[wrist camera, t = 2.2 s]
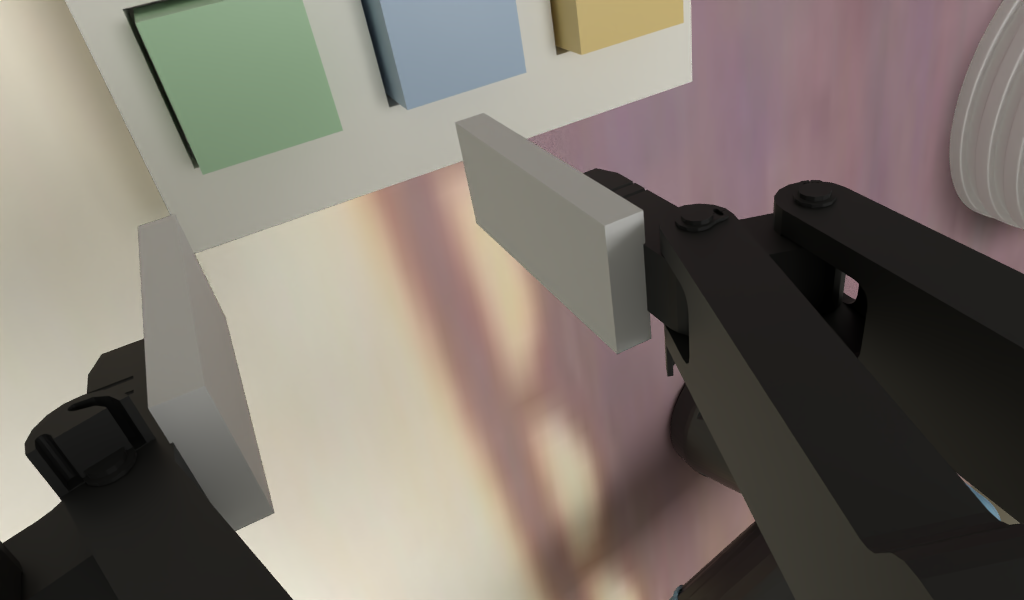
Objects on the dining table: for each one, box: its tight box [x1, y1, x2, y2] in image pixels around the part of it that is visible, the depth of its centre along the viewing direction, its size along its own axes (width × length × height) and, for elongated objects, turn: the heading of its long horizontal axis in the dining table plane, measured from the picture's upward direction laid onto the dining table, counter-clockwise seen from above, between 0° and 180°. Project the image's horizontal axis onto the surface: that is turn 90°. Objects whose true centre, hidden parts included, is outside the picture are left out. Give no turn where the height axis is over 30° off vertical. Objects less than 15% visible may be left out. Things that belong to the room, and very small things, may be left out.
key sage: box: [133, 0, 343, 175], centre depth 29 cm, size 6×6×4 cm
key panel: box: [65, 0, 692, 254], centre depth 34 cm, size 28×14×6 cm, turn 100°
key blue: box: [361, 0, 526, 110], centre depth 32 cm, size 6×6×4 cm
